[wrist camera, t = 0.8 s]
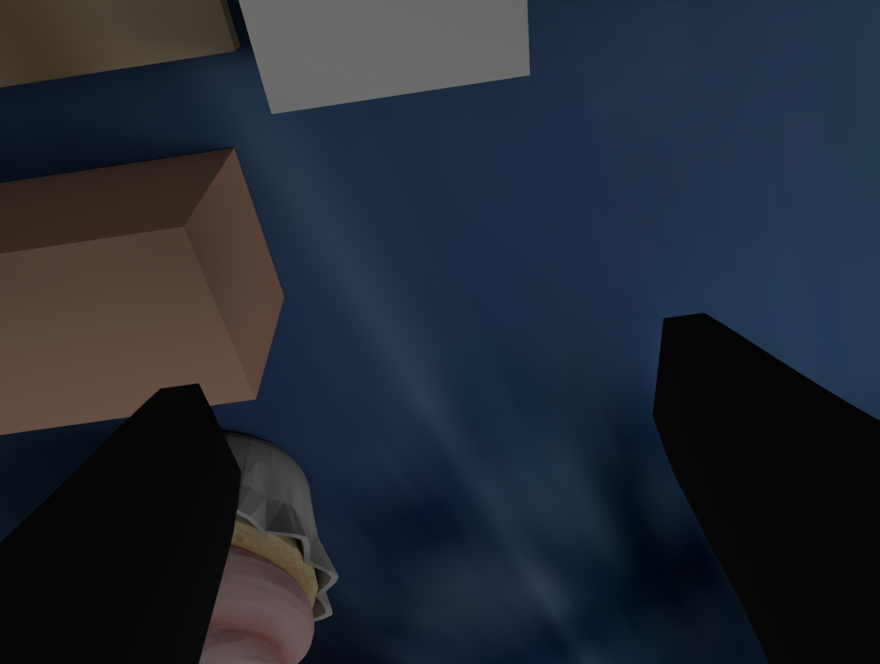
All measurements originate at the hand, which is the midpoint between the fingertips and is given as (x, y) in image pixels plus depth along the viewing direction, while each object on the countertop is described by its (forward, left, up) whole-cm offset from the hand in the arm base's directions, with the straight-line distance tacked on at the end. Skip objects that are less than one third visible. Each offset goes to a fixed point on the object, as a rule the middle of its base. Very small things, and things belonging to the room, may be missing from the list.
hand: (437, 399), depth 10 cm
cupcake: (+10, +12, -10) cm, 18 cm away
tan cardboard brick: (+10, +1, -10) cm, 14 cm away
